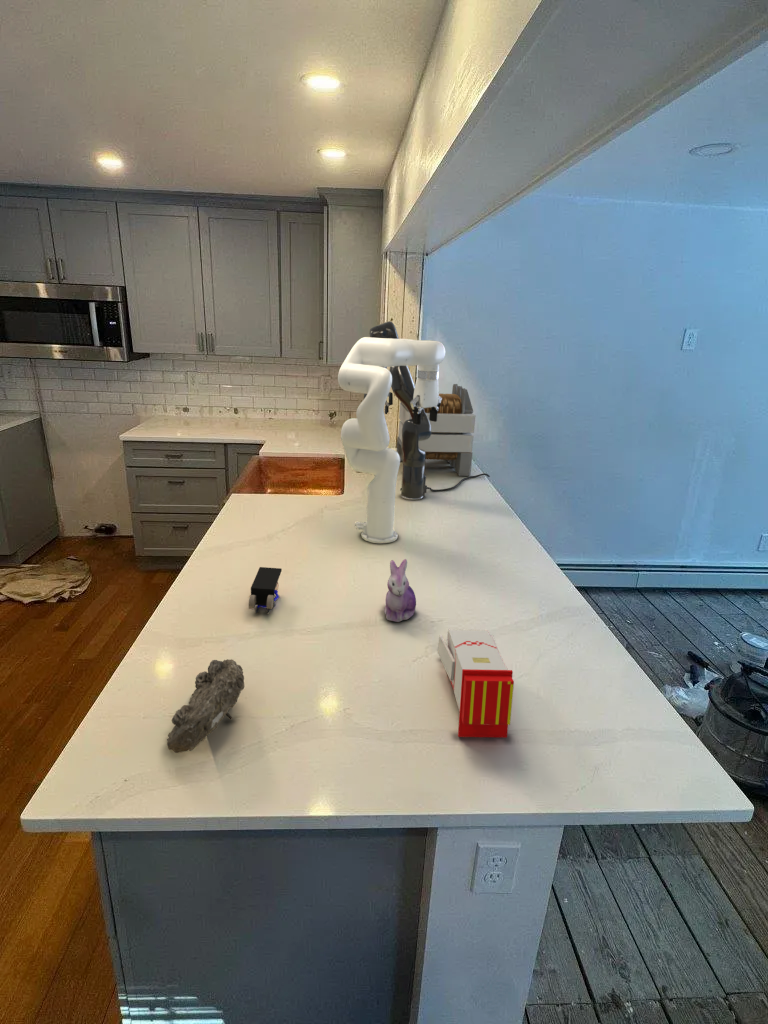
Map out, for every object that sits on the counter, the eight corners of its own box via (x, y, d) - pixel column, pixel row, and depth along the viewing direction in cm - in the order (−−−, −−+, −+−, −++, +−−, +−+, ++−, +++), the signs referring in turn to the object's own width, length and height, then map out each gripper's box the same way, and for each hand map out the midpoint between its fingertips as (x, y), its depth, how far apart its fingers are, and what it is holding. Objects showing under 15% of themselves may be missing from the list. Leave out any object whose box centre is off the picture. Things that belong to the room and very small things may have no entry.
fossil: (192, 660, 117) (244, 628, 112) (224, 691, 120) (276, 661, 115) (142, 746, 98) (202, 712, 93) (182, 779, 101) (242, 748, 96)
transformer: (395, 457, 301) (399, 379, 287) (455, 458, 305) (462, 381, 291) (404, 475, 269) (409, 388, 255) (471, 476, 273) (479, 391, 259)
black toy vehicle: (274, 622, 143) (283, 588, 157) (273, 597, 140) (282, 565, 153) (248, 621, 143) (258, 588, 157) (246, 596, 140) (257, 564, 153)
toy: (488, 613, 130) (523, 677, 101) (484, 667, 133) (517, 744, 104) (435, 612, 130) (455, 676, 101) (432, 666, 133) (451, 743, 103)
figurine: (392, 627, 141) (395, 572, 136) (374, 608, 149) (376, 556, 144) (425, 619, 145) (429, 566, 140) (405, 601, 154) (408, 550, 149)
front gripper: (434, 373, 214) (431, 418, 220) (404, 376, 202) (402, 423, 208) (450, 375, 210) (446, 421, 216) (421, 378, 198) (418, 427, 203)
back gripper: (366, 381, 265) (365, 415, 271) (395, 381, 270) (394, 415, 275) (362, 379, 272) (361, 412, 277) (390, 379, 276) (389, 412, 282)
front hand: (424, 422), depth 212 cm, fingers open, 9 cm apart
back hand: (377, 413), depth 276 cm, fingers open, 8 cm apart
